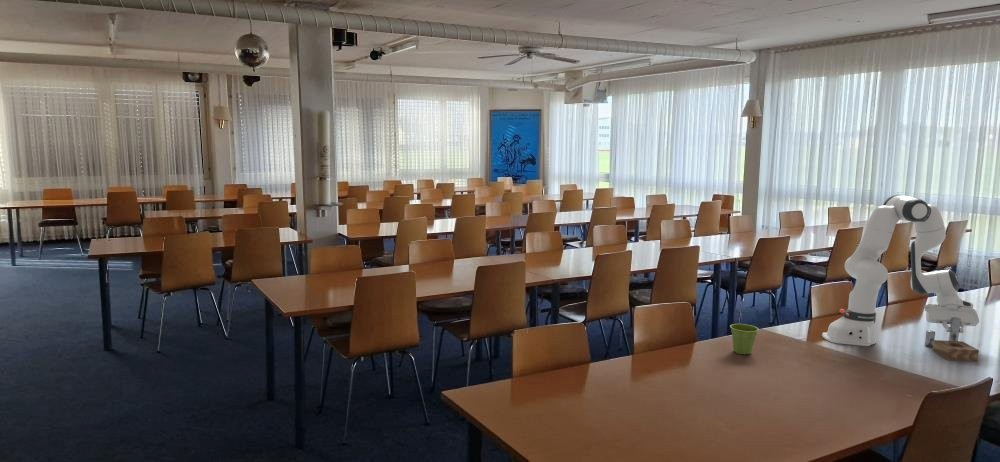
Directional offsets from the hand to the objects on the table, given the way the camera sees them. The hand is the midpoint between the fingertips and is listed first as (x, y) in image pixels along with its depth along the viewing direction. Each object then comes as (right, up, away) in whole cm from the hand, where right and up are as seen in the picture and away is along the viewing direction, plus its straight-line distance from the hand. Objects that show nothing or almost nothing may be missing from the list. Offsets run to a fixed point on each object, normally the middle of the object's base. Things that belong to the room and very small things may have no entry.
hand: (955, 331), depth 295 cm
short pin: (-9, -7, +5) cm, 12 cm away
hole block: (-6, -9, -8) cm, 14 cm away
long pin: (0, -8, +2) cm, 8 cm away
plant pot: (-99, -8, -8) cm, 99 cm away
